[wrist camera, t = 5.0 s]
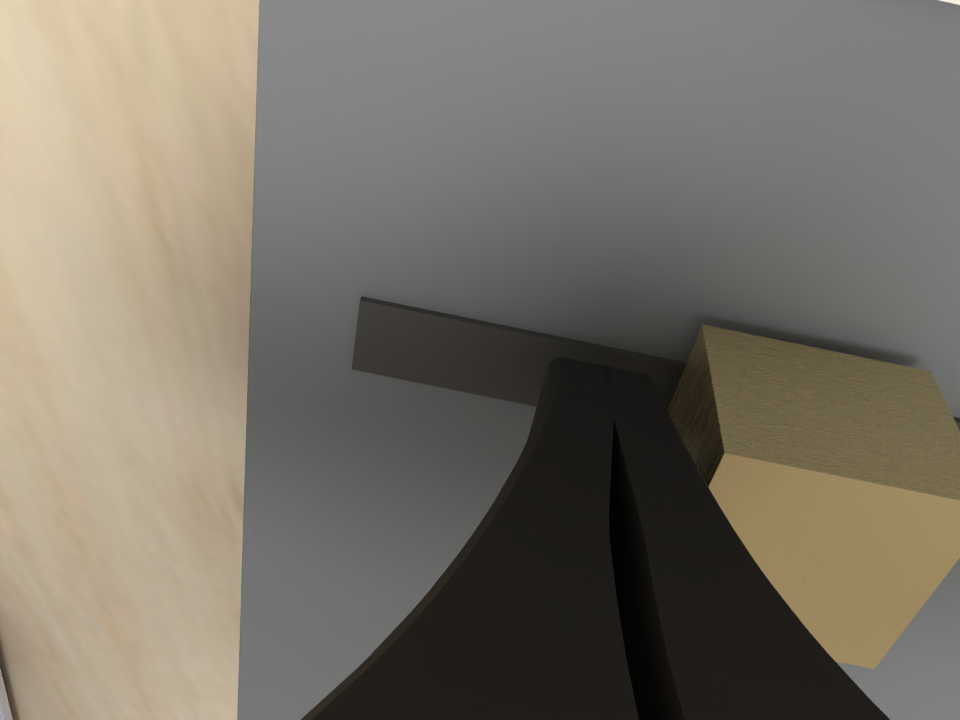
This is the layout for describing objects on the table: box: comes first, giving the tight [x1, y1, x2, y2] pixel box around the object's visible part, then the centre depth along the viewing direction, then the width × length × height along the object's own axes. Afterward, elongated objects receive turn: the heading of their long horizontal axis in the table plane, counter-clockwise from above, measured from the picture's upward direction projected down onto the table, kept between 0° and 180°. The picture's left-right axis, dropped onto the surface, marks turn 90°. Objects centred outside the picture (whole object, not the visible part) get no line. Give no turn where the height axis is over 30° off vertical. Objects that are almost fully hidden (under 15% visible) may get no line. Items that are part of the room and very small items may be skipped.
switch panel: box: [237, 0, 960, 720], centre depth 14 cm, size 26×14×4 cm, turn 170°
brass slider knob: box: [667, 324, 960, 669], centre depth 12 cm, size 3×3×2 cm
